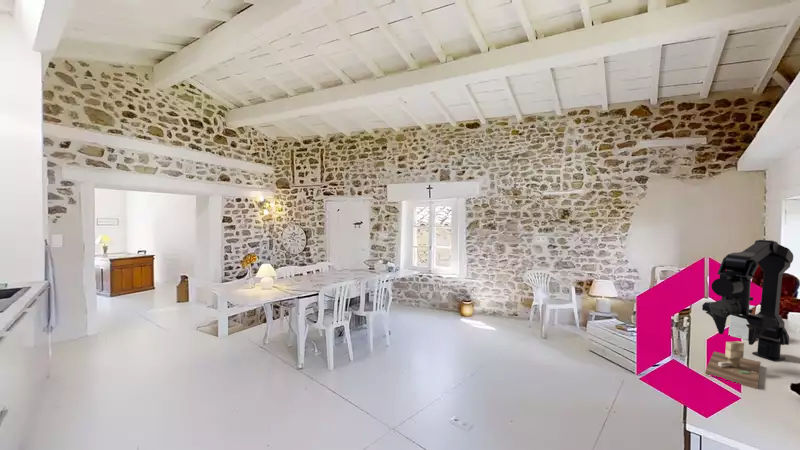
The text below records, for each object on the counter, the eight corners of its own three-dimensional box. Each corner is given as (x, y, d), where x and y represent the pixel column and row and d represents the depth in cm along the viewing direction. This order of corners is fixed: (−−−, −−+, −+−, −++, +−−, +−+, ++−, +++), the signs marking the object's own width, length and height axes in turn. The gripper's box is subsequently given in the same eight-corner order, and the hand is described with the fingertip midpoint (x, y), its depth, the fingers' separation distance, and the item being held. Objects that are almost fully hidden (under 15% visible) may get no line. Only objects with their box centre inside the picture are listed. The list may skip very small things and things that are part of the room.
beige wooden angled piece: (735, 363, 121) (736, 340, 120) (745, 367, 118) (746, 343, 117) (714, 364, 119) (716, 341, 119) (724, 369, 116) (725, 345, 116)
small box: (748, 340, 145) (750, 309, 144) (728, 335, 150) (729, 305, 150) (754, 336, 150) (756, 305, 149) (734, 331, 155) (735, 302, 154)
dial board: (713, 355, 131) (714, 350, 131) (760, 366, 122) (760, 361, 122) (705, 375, 116) (705, 369, 116) (757, 389, 107) (757, 383, 107)
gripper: (689, 287, 125) (687, 330, 126) (748, 301, 107) (745, 352, 108) (717, 286, 127) (714, 328, 128) (779, 300, 108) (776, 350, 109)
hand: (735, 339), depth 118 cm, fingers open, 9 cm apart
